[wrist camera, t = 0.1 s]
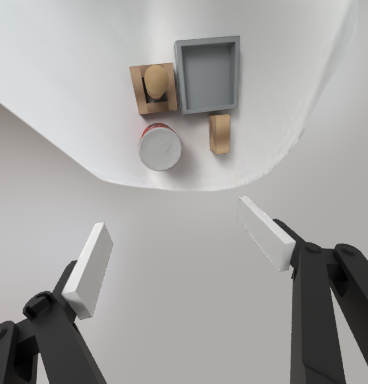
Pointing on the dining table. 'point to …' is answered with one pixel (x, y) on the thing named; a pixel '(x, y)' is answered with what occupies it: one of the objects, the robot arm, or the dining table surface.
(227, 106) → the tray
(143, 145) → the canned food
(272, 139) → the dining table surface
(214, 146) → the wooden block
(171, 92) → the holder
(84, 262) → the robot arm
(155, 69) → the dowel
